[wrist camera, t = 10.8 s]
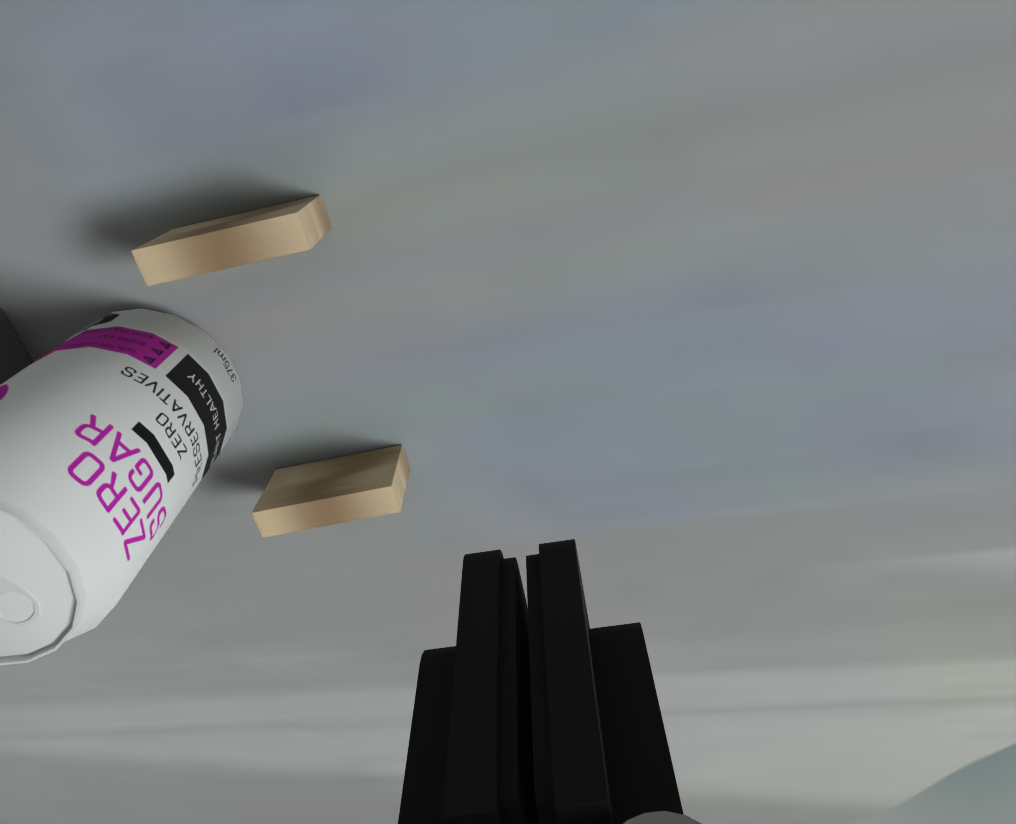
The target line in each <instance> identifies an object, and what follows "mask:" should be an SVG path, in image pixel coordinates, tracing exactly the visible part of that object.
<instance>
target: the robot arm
mask: <svg viewBox="0 0 1016 824" xmlns="http://www.w3.org/2000/svg"><path fill="white" fill-rule="evenodd" d="M526 569H527V597H528V608H527V603H526V599H525V594H524V590H523V585H522V581H521V576H520V572H519V567H518V563H517V560H516V558H515V557H514V558H507V559H504V558H503V554H502V552H501V550H494V551H487V552H480V553H473V554H465V556H464V559H463V569H462V582H461V594H460V606H459V618H458V630H457V643H456V646H454V647H446V648H438V649H430V650H425V651H424V652H423V654H422V657H421V661H420V666H419V674H418V681H417V688H416V696H415V703H414V710H413V718H412V725H411V732H410V740H409V747H408V754H407V762H406V769H405V776H404V784H403V791H402V798H401V806H400V813H399V820H398V824H701V823H699V822H697V821H696V820H694V819H692V818H690V817H688V816H686V815H683V810H682V806H681V801H680V797H679V792H678V788H677V783H676V779H675V774H674V770H673V765H672V761H671V756H670V752H669V747H668V743H667V738H666V734H665V729H664V725H663V720H662V716H661V711H660V707H659V702H658V698H657V693H656V689H655V684H654V680H653V675H652V671H651V666H650V662H649V658H648V653H647V649H646V644H645V640H644V635H643V631H642V627H641V624H640V623H631V624H624V625H616V626H608V627H600V628H593V629H590V626H589V620H588V614H587V609H586V603H585V597H584V591H583V585H582V579H581V573H580V567H579V561H578V555H577V549H576V543H575V539H572V540H565V541H558V542H551V543H544V544H539V554H536V555H529V556H526Z"/></svg>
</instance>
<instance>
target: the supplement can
mask: <svg viewBox="0 0 1016 824" xmlns="http://www.w3.org/2000/svg"><path fill="white" fill-rule="evenodd" d="M242 407H243V401H242V393H241V385H240V379H239V377H238V375H237V373H236V371H235V369H234V367H233V365H232V363H231V362H230V360H229V358H228V356H227V354H226V353H225V352H224V351H223V350H222V349H221V348H220V347H219V346H218V345H217V344H216V343H215V342H214V341H213V340H212V339H211V338H210V337H209V336H208V335H207V334H206V333H205V332H204V331H203V330H201V329H199V328H197V327H196V326H194V325H192V324H190V323H188V322H186V321H184V320H183V319H181V318H179V317H177V316H175V315H172V314H167V313H162V312H157V311H153V310H148V309H143V308H142V309H134V310H125V311H117V312H112V313H110V314H108V315H106V316H104V317H103V318H101V319H99V320H97V321H95V322H94V323H92V324H90V325H88V326H87V327H85V328H84V329H82V330H81V331H79V332H78V333H76V334H75V335H73V336H72V337H70V338H69V339H67V340H66V341H64V342H63V343H62V344H60V345H59V346H57V347H56V348H54V349H53V350H51V351H50V352H48V353H47V354H45V355H44V356H42V357H41V358H39V359H38V360H36V361H35V362H33V363H32V364H30V365H29V366H27V367H26V368H25V369H23V370H22V371H20V372H19V373H17V374H16V375H14V376H13V377H11V378H10V379H8V380H7V381H5V382H4V383H2V384H1V385H0V665H8V664H18V663H28V662H31V661H33V660H35V659H37V658H40V657H42V656H44V655H46V654H49V653H51V652H53V651H55V650H57V649H58V648H59V647H60V646H61V644H62V643H63V642H65V641H67V640H69V639H71V638H74V637H76V636H78V635H80V634H83V633H85V632H87V631H89V630H91V629H94V628H96V626H97V625H98V624H99V623H100V622H101V621H102V620H103V619H104V618H105V616H106V615H107V614H108V613H109V612H110V611H111V610H112V609H113V608H114V606H115V605H116V604H117V603H118V601H119V600H120V598H121V597H122V595H123V594H124V592H125V591H126V589H127V588H128V586H129V585H130V584H131V582H132V581H133V579H134V578H135V576H136V575H137V573H138V572H139V570H140V569H141V567H142V566H143V565H144V563H145V562H146V560H147V559H148V557H149V556H150V554H151V553H152V551H153V550H154V548H155V547H156V546H157V544H158V543H159V541H160V540H161V538H162V537H163V535H164V534H165V532H166V531H167V529H168V528H169V527H170V525H171V524H172V522H173V521H174V519H175V518H176V516H177V515H178V513H179V512H180V510H181V509H182V508H183V506H184V505H185V503H186V502H187V500H188V499H189V497H190V496H191V494H192V493H193V491H194V490H195V488H196V487H197V486H198V484H199V483H200V481H201V480H202V478H203V477H204V475H205V474H206V472H207V471H208V469H209V468H210V467H211V465H212V464H213V462H214V461H215V459H216V458H217V456H218V455H219V453H220V452H221V450H222V449H223V448H224V446H225V445H226V443H227V442H228V440H229V439H230V437H231V436H232V434H233V433H234V431H235V430H236V428H237V425H238V421H239V418H240V414H241V411H242Z"/></svg>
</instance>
